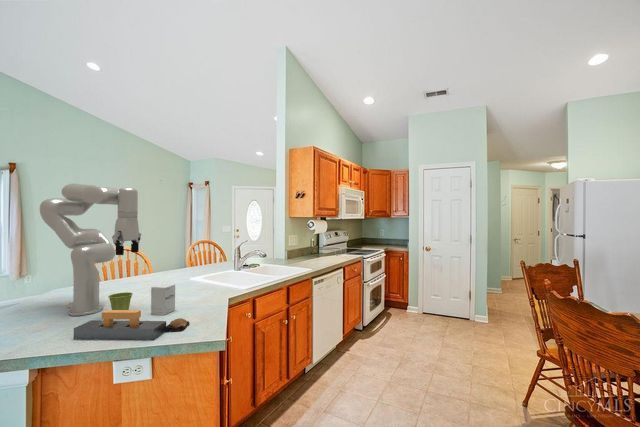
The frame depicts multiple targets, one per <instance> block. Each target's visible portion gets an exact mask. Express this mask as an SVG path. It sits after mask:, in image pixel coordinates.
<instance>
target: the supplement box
mask: <svg viewBox="0 0 640 427" xmlns="http://www.w3.org/2000/svg"><path fill="white" fill-rule="evenodd" d="M150 288H151V289H150V290H151V291H150V315H154V316H155V315H156V316H157V315H158V316H165V315H167V314H169V313H172V312H174V311H176V284H175V283H172V284H171V283H161V284H158V285H154V286H151V287H150Z"/></svg>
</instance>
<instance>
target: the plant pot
mask: <svg viewBox="0 0 640 427" xmlns="http://www.w3.org/2000/svg"><path fill="white" fill-rule="evenodd" d="M132 296H133V292H127V291H126V292H118V293H112V294H110V295H108V296H107V298H108V299H109V301H110V307H111V310H130V305H131V298H132Z"/></svg>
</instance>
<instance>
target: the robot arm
mask: <svg viewBox="0 0 640 427" xmlns="http://www.w3.org/2000/svg"><path fill="white" fill-rule="evenodd" d="M138 194H139V193H138V190H137V189H136V188H130V187H122V188H117V187H116V188H115V187H105V186H96V185H93V184H82V183H70V184H66V185H64V186H63V187H62V189H61V195H62V197H64V198H62V197H61V198H59V197H58V198H57V197H55V198H54V197H53V198H47V199H45V200H43V201H42V202H41V203H40V205H39V214H40V216H41V219H42V221H43V222H44V223H45V224H46V225H47V226H48V227H49V228H50V229H52V231H54V233H55V234H56V236H57V237H58V238H59V239H60V240H61V242H62V243H63V245H64V246H65V247H66V248H68V249H71V252H70V261H71V265H72V270H73V273H72V274H73V276H72V277H73V278H72V280H73V286H72V287H73V288H72V289H73V292H72V293H73V299H72V300H73V301H72V302H69V303H68V304H66V308H67V309H70V310H69V312H68V315H70V316H72V317H77V316H86V315H87V316H88V315H91V314H96V313H99V312H102V310H104V306H103V305H100V271H99V270H98V267H97V266H96V265H95V264H101V263H108V262H110V261H112V260H113V259H114V258H115V256H124V253H125V251H124V250H125V248H124V247H125V246H124V243H125V242H128V241H129V242H130V241H131V244H130V252H131V253H139V248H140V246H139V244H140V241H141V238H142V233H141V232H140V228H139V220H138V215H139V214H138V210H139V209H138V208H139V200H138V199H139V198H138V196H139V195H138ZM94 204H95V205H114V206H116V205H117V218H116V220H115V224H114V234H113V235H112V236H111V239H112V241H113V244H114V246H113V244H112V243H111V242H110V240H109V239H108V238H107V237H106V236H105V234H104V233H103V232H102V231H100V230H99V229H96V228H82V227H81V228H80V227H79V226H78V224H76V222H75V221H74V220H72V219H71V218H69V217H71V216H75V217H76V216H82V215H84V214H85V213H86V212H88V210H89V209H91V207H93V205H94ZM67 216H69V217H67Z"/></svg>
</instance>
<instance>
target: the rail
mask: <svg viewBox="0 0 640 427" xmlns="http://www.w3.org/2000/svg"><path fill="white" fill-rule="evenodd" d="M166 326H167V321H166V320H139V326H137V327H130V320H113V325H112V326H110V327H103V319H101V320H89V321H86V322H85V323H83V324H81V325H78V326H75V327H73V340H101V341H103V340H105V341H106V340H107V341H110V340H111V341H118V340H119V341H129V340H130V341H155V340H156V339H158V338H159V337H161V335H163V334H164V333H165V331H166Z"/></svg>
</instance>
